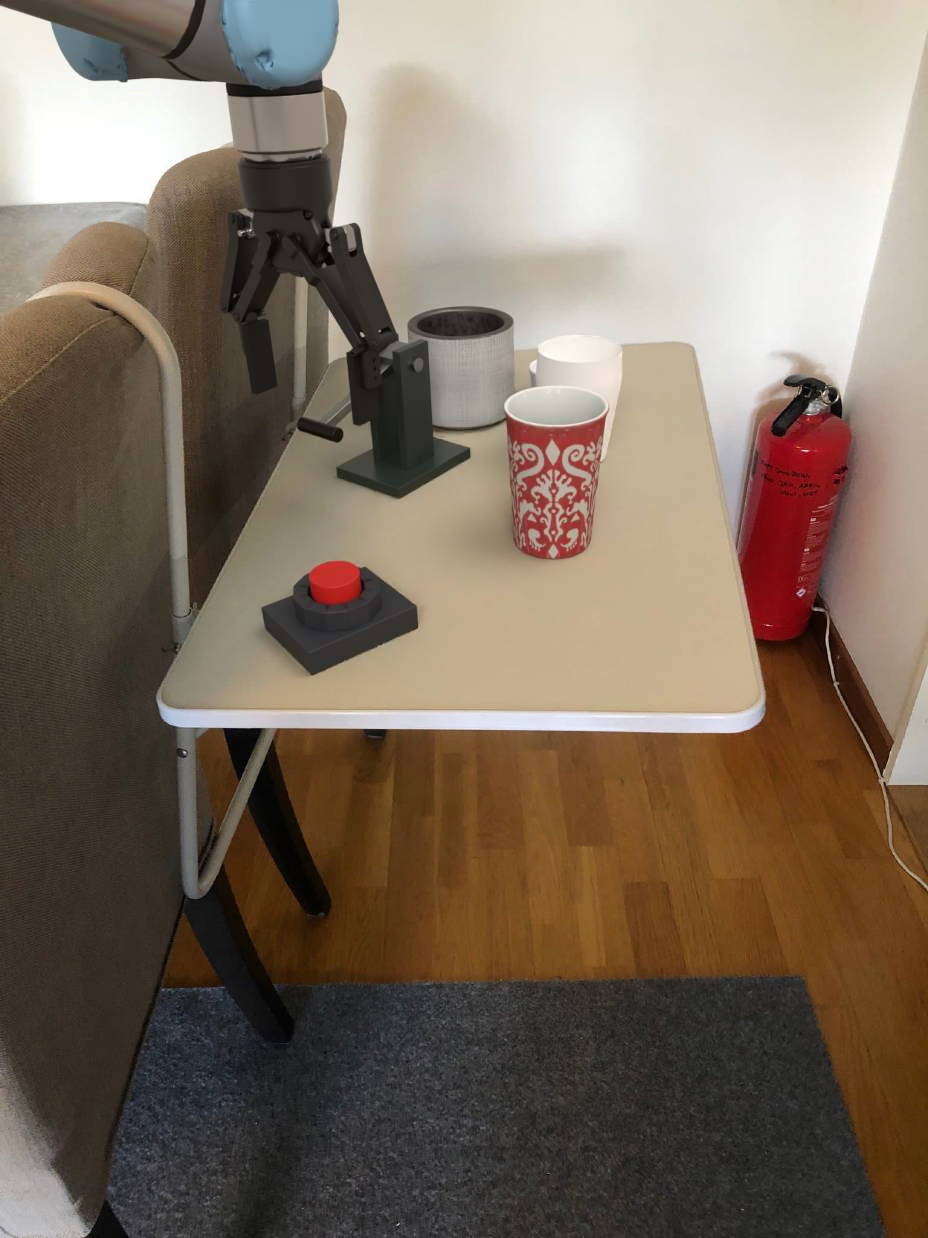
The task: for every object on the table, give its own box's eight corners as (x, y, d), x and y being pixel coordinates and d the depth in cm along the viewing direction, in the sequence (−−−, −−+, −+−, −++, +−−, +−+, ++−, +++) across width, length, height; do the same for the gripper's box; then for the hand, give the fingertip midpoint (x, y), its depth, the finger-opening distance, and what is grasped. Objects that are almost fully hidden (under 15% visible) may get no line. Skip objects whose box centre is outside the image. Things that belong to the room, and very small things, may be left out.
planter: (534, 406, 113) (535, 314, 107) (475, 441, 105) (472, 345, 99) (452, 386, 120) (449, 299, 113) (391, 419, 111) (383, 326, 105)
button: (327, 611, 71) (324, 593, 70) (302, 590, 74) (299, 571, 73) (371, 593, 73) (369, 575, 72) (345, 573, 76) (343, 555, 75)
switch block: (312, 675, 71) (305, 633, 68) (264, 629, 76) (257, 588, 74) (418, 627, 75) (415, 587, 73) (367, 587, 81) (363, 547, 79)
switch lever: (337, 449, 88) (329, 429, 86) (301, 437, 90) (292, 418, 88) (426, 366, 94) (420, 346, 92) (390, 357, 96) (383, 337, 95)
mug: (603, 566, 82) (612, 424, 75) (502, 564, 83) (501, 424, 75) (597, 500, 93) (605, 370, 85) (508, 499, 93) (507, 370, 86)
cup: (621, 472, 98) (629, 361, 91) (536, 474, 98) (538, 364, 91) (611, 437, 105) (618, 332, 98) (532, 439, 105) (533, 335, 98)
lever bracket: (399, 499, 94) (388, 367, 86) (336, 476, 99) (321, 350, 91) (470, 457, 102) (467, 333, 94) (409, 438, 107) (401, 319, 99)
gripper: (431, 158, 70) (441, 421, 82) (219, 137, 83) (255, 367, 95) (363, 172, 65) (385, 449, 77) (150, 148, 78) (197, 389, 90)
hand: (313, 404), depth 86 cm, fingers open, 13 cm apart
